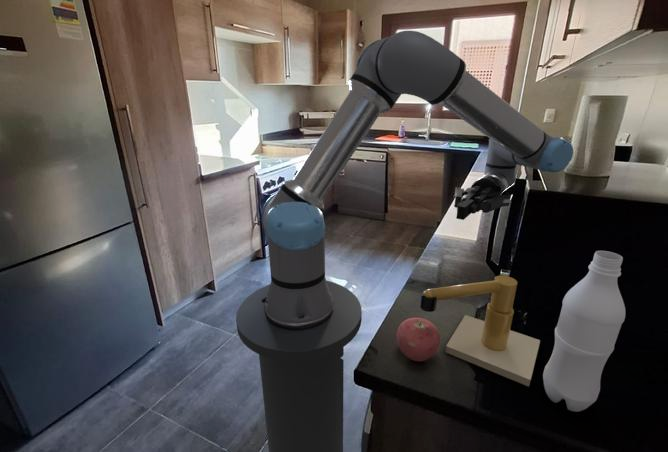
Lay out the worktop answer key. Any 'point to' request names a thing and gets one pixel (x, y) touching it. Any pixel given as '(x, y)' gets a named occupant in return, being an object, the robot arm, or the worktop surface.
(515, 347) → the tap stand
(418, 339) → the apple
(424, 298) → the nozzle
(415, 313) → the worktop surface
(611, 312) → the water bottle
